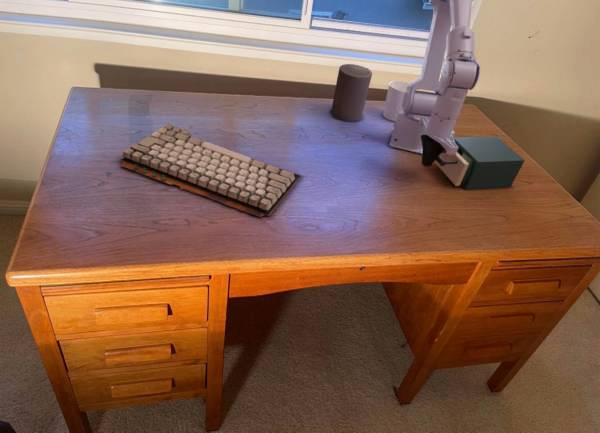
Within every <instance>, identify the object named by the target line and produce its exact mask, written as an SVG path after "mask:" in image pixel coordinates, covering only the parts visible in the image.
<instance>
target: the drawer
mask: <svg viewBox="0 0 600 433" xmlns="http://www.w3.org/2000/svg"><path fill="white" fill-rule="evenodd" d="M456 145H457V144H456ZM457 146H458V145H457ZM458 147H459V146H458ZM446 152H447V150H445V151H443V152H442V153H441V154H440V155H439V156H438V157H437V159H436V160H435V161H434V164H435V165H436V166H437V167H438V168H439V169H440V170H441V171H442V172H443V173H444V175H445V176H446V177H447V178H448V180H450V182H451V183H452V184H453V185H454V186H456V187H459V186H461V182H463V183H467V181H468V178H469V176H470V174H471V172H472V170H473V167H474V165H475V162H474V161H470V163H469V164H468V163H467V162H466V161H465V160H464V159H463V158H462V157H461V156H462V153H463V150H462V149H461V148H460V147H459V148H458V150H457V152H456V155H448V154H447V153H446Z"/></svg>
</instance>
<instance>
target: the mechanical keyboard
mask: <svg viewBox="0 0 600 433" xmlns="http://www.w3.org/2000/svg"><path fill="white" fill-rule="evenodd" d="M120 161H121V162H122V164H121V165H120V166H121V167H124V168H126V169H128V170H130V171H134V172H136V173H139V174H141V175H144V176H146V177H149V178H152V179H154V180H157V181H159V182H163V183H165V184H166V185H167V184H168V185H171V186H173V185H175V186H178V187H179V189H180V190H184V191H188V192H189V193H190V192H191V193H193V194H196V195H197V194H198V195H201V196H203V197H206V198H209V199H211V200H213V201H215V202H218V203H221V204H223V205H225V206H228V207H231V208H234V209H236V210H239V211H241V212H245V213H247V214H249V215H251V216H254V217H258V218H262V217H263V216H266V217H270V216H272V214H273V213H274V211H275V210H276V209H277V208H278V207H279V205H280V204H281V203H282V202H283V200H284V199H285V198H286V196H287V195H288V194H289V192H291V190H292V189H293V188H294V186H296V184H297V183H298V181H299V180H300V179H301V177H302V175H300V174H297V173H295V172H291V171H289V170H286V169H282V168H279V167H278V166H274V165H272V164H266V163H265V162H263V161H260V160H258V159H253V158H251V157H250V156H246V155H244V154H242V153H239V152H236V151H233V150H229V149H227V148H225V147H222V146H219V145H216V144H213V143H212V142H208V141H203V140H202V139H199V138H196V137H193V136H192V133H191V131H190V129H187V128H183V129H182V127H180V126H176V125H175V126H174V124H171V123H169V122H168V123H167V124H166V125H164V126H162V127H159V129H158V130H157V131H156V130H155V131H154V132H152V133H151V135H148V136H146V137H145V138H143V139H141V140H140V141H138V142H137V143H133V144H132V145H131V144H130V148H125V149H124V150H123V151H122V158H121V159H120Z"/></svg>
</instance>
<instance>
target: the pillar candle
mask: <svg viewBox="0 0 600 433" xmlns="http://www.w3.org/2000/svg"><path fill="white" fill-rule="evenodd" d="M372 77H373V71H371V70H370V69H369V68H368V67H365V66H362V65H359V64H354V63H344V64H342V65H340V66H339V68H338V74H337V78H336V84H335V87H334V94H333V99H332V104H331V105H332V106H331V109H330V113H331V115H332V116H333V117H335V119H338V120H341V121H344V122H357V121H360V120H361V119H362V118H363V113H364V110H365V105H366V101H367V97H368V92H369V90H370V84H371V80H372Z"/></svg>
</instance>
